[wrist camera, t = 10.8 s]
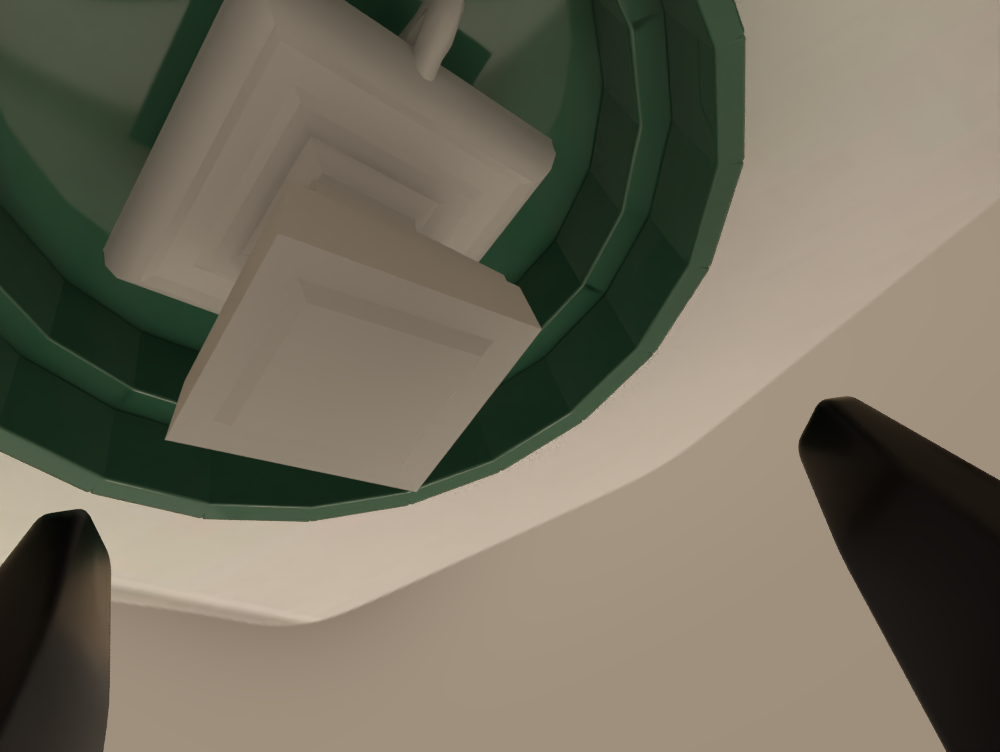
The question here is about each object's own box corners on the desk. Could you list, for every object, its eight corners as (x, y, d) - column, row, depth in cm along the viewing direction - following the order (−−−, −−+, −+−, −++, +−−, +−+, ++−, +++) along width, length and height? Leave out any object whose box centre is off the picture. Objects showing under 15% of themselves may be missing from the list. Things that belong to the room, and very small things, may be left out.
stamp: (353, 329, 21) (403, 593, 15) (96, 231, 17) (27, 534, 11) (553, 45, 17) (729, 252, 11) (276, -164, 13) (316, -20, 7)
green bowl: (723, -309, 14) (893, -299, 10) (587, 353, 25) (647, 467, 21) (-366, -429, 10) (-689, -479, 6) (45, 419, 21) (9, 571, 17)
